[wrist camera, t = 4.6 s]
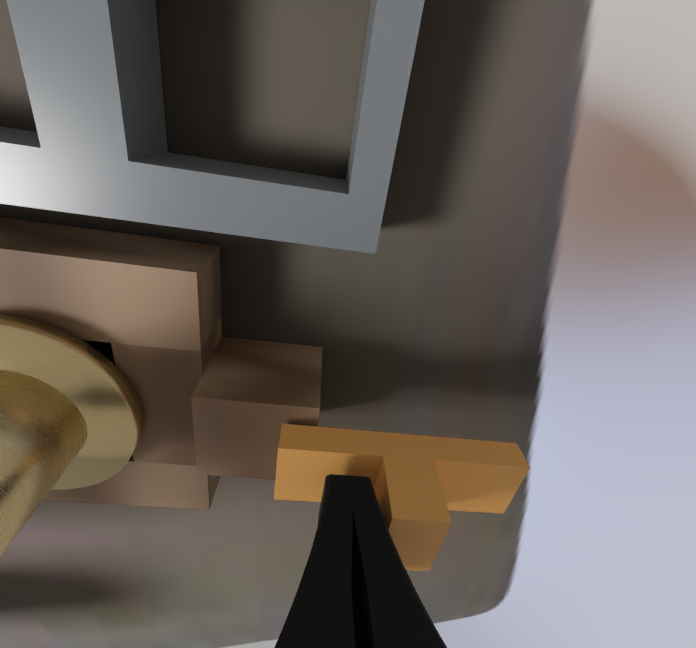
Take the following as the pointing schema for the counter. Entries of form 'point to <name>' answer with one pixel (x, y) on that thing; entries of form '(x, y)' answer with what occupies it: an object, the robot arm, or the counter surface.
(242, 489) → the counter surface
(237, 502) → the counter surface
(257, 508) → the counter surface
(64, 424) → the brass peg
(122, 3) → the rack
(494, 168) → the counter surface
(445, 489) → the latch bar
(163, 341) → the socket block
